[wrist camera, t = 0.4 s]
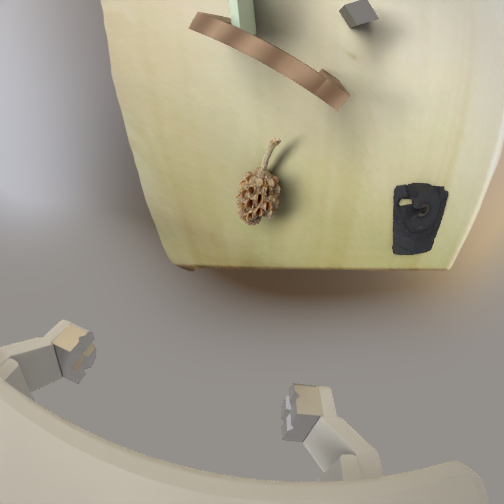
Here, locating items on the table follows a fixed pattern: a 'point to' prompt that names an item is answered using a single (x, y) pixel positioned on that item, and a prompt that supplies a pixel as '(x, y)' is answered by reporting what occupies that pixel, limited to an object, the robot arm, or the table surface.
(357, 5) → the gray rectangular block
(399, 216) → the dark slate chunk
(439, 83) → the table surface
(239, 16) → the door
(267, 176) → the dried seed pod
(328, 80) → the door frame
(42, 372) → the robot arm
